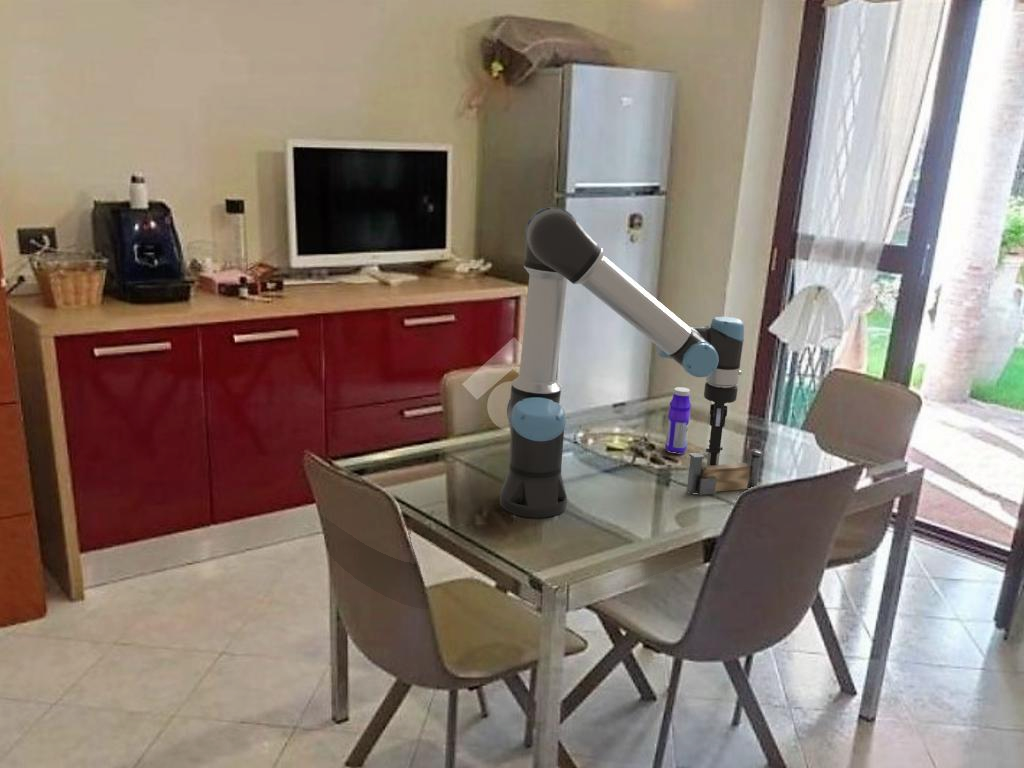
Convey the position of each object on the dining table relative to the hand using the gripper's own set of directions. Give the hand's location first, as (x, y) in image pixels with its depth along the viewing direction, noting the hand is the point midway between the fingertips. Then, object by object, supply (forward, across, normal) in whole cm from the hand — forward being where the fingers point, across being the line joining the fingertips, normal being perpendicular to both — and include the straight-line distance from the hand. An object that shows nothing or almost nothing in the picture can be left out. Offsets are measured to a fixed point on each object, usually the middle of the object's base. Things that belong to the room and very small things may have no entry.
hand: (711, 476), depth 216 cm
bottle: (+3, +22, +10) cm, 25 cm away
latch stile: (+3, -5, +2) cm, 6 cm away
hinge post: (+3, +2, -10) cm, 11 cm away
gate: (+2, -2, -3) cm, 4 cm away
